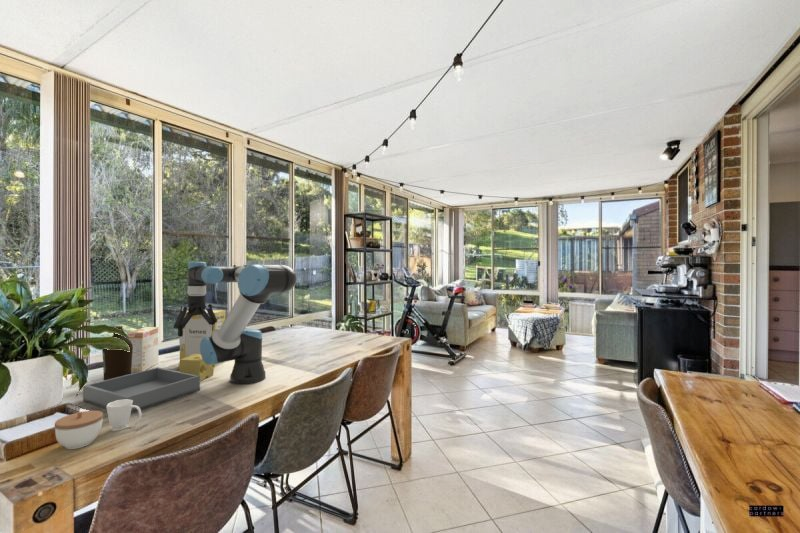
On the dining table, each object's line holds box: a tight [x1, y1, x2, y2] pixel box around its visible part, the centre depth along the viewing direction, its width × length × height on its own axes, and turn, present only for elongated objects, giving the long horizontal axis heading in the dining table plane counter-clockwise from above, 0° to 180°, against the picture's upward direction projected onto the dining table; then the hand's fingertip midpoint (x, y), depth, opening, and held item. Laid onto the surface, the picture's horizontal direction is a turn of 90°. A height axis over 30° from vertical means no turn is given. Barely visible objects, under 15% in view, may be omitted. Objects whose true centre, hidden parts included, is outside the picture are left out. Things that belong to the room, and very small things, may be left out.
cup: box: [105, 399, 143, 432], centre depth 118 cm, size 7×10×8 cm
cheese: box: [178, 354, 215, 382], centre depth 169 cm, size 10×11×10 cm
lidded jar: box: [54, 410, 104, 450], centre depth 107 cm, size 11×11×9 cm
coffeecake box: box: [127, 326, 159, 373], centre depth 184 cm, size 15×7×20 cm, turn 6°
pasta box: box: [179, 309, 227, 368], centre depth 192 cm, size 18×10×28 cm, turn 89°
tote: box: [82, 366, 201, 414], centre depth 146 cm, size 28×28×6 cm
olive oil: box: [101, 325, 133, 381], centre depth 160 cm, size 11×11×25 cm
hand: (196, 340), depth 169 cm, fingers open, 13 cm apart
